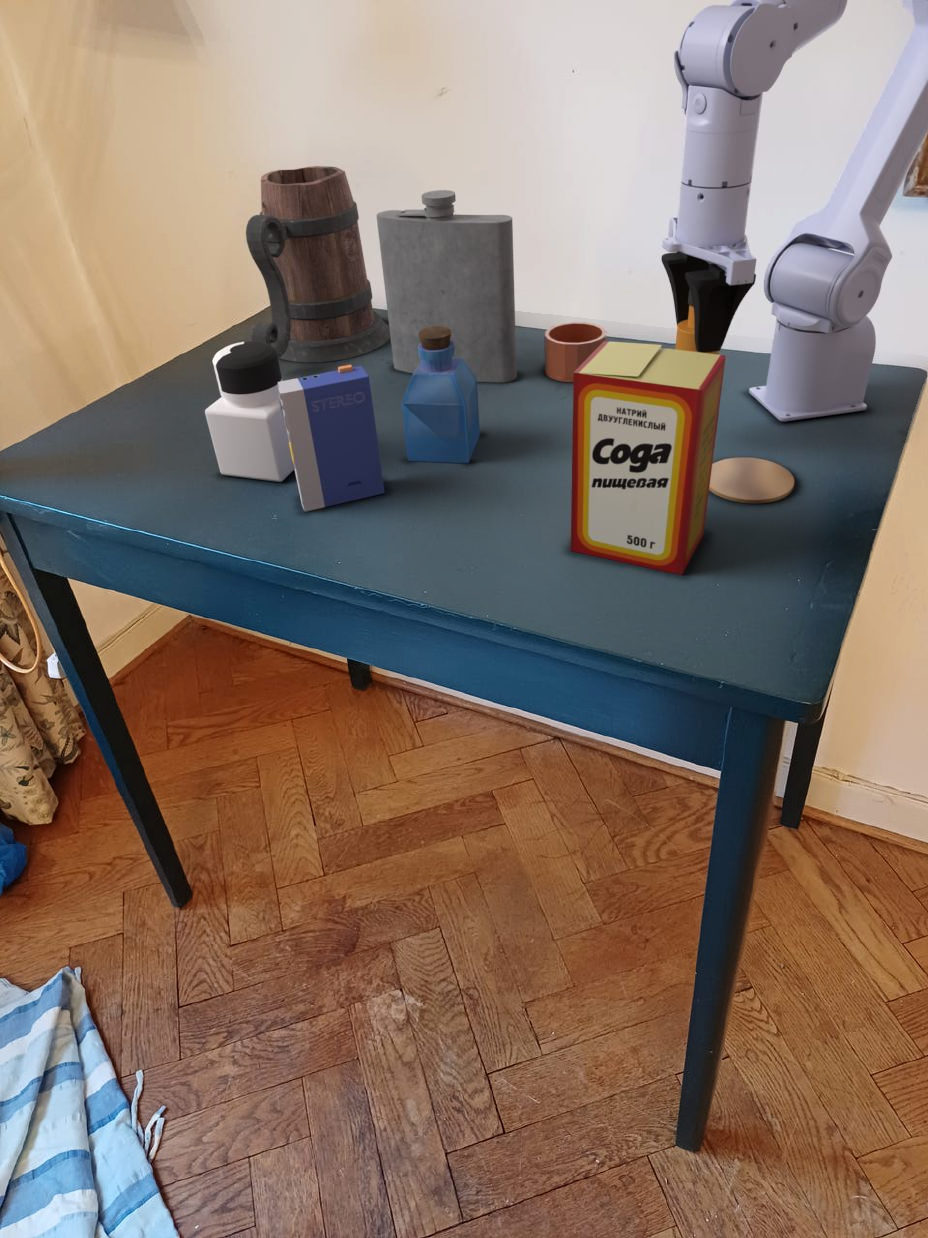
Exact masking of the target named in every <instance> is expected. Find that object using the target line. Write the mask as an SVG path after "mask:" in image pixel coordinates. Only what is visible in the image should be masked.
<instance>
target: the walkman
mask: <svg viewBox="0 0 928 1238" xmlns="http://www.w3.org/2000/svg"><path fill="white" fill-rule="evenodd" d="M278 386H279V388H278V390H279V396H280V399H278V400H279V405H280V410H281V414H282V419H283V424H284V427H286V429H287V434H288V439H289V446H290V450H291V455H292V459H293V464H294V473H295V478H296V485H297V488H298V493H299V498H300V503H301V506H302V509H303V511H304V512H311V511H314V510H315V511H316V510H320V509H323V508H327V507H331V506H335V505H339V504H344V503H348V502H352V501H357V500H360V499H361V500H362V499H365V498H370V497H374V496H377V495H383V494H385V492H386V491H385V485H384V478H383V472H382V471H383V470H382V463H381V462H382V461H381V457H380V456H381V455H380V448H379V440H378V432H377V426H376V419H375V411H374V410H375V409H374V405H373V397H372V388H371V381H370V376H369V374H368V373H367V372H366V370H365V369H364V367H363V366H362V365H359V366H358V365H357V366H352V364H347V365H341V366H337V370H332V371H327V372H322V373H317V374H312V375H305V376H302V377H296V378H292V379H286V380H282V381H281V382H278Z"/></svg>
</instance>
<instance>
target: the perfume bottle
mask: <svg viewBox="0 0 928 1238" xmlns="http://www.w3.org/2000/svg"><path fill="white" fill-rule="evenodd" d="M451 331H452V330H451V329H449V328H447V327H441V326H434V327H428V328H425V329H422V330H420V331H419V333H418V335H419V338H420V341H421V343H420V344H419V345H418V353H419V357H420V359H422V360H421V362H420V363H419V365H418V366H417V368H416V370H415V371H414V373H412V375H411V377H410V380H409V383H408V385H407V387H406V390H405V393H404V396H403V398H402V401H401V411H402V419H403V428H404V438H405V446H406V455H407V461H408V462H423V463H424V462H425V463H426V462H427V463H428V462H429V463H446V464H447V463H448V464H449V463H450V464H469V463H470V460H471V459H472V456H473V453H474V452H475V451H474V450H475V448H476V446H477V443H478V441H479V439H480V436H481V430H480V412H479V411H480V410H479V409H480V408H479V394H478V382H477V378H476V377H475V376H474V374H473V373H472V371H471V370H470V369H469V367H468V366H467V365H466V363H465V362H464V360H463V359H454V358H452V357H453V356H454V354H455V350H454V342H453V341H451V340H450V339H451Z"/></svg>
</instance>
